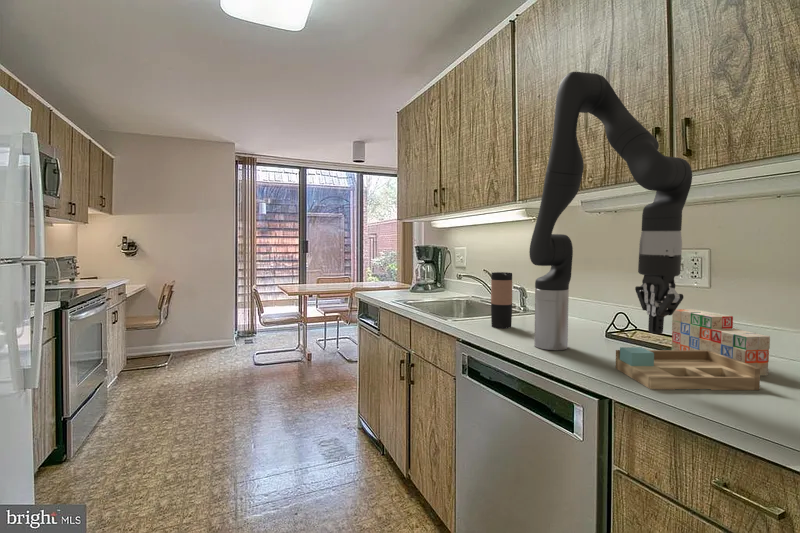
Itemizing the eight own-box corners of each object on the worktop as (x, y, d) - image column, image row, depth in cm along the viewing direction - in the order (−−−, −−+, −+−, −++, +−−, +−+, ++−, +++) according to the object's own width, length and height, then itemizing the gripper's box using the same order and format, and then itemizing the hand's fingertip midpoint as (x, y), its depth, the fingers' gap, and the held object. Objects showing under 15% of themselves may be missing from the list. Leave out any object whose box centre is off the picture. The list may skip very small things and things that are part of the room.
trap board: (615, 368, 95) (615, 350, 95) (707, 368, 94) (708, 350, 94) (650, 389, 81) (651, 368, 81) (759, 390, 80) (760, 368, 80)
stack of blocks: (769, 376, 89) (771, 323, 88) (744, 377, 88) (746, 323, 88) (691, 351, 110) (692, 308, 110) (670, 352, 110) (671, 308, 109)
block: (619, 359, 94) (620, 347, 93) (640, 359, 93) (641, 347, 93) (631, 366, 89) (631, 352, 88) (653, 366, 88) (654, 353, 88)
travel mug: (493, 323, 150) (493, 272, 149) (513, 325, 146) (514, 272, 145) (488, 327, 143) (489, 273, 142) (509, 329, 139) (510, 273, 138)
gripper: (624, 251, 89) (621, 325, 91) (661, 254, 76) (657, 341, 77) (657, 251, 89) (653, 325, 90) (701, 254, 76) (695, 341, 77)
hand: (655, 332), depth 84 cm, fingers closed
